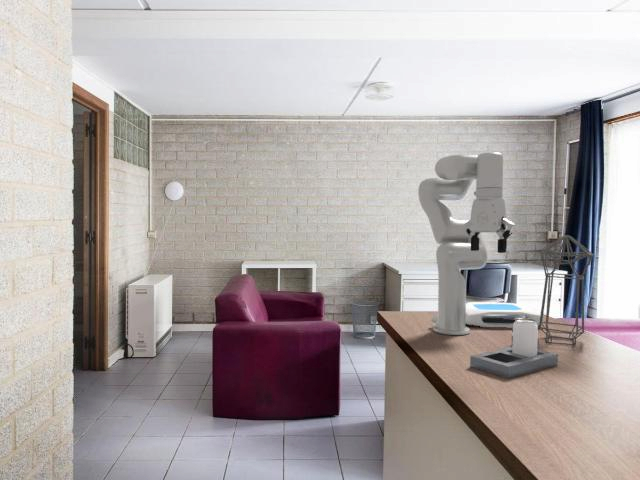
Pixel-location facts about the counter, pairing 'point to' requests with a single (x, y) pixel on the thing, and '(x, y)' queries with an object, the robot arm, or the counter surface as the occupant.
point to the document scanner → (499, 313)
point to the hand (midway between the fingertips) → (488, 251)
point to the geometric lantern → (547, 250)
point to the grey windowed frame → (512, 362)
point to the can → (525, 337)
